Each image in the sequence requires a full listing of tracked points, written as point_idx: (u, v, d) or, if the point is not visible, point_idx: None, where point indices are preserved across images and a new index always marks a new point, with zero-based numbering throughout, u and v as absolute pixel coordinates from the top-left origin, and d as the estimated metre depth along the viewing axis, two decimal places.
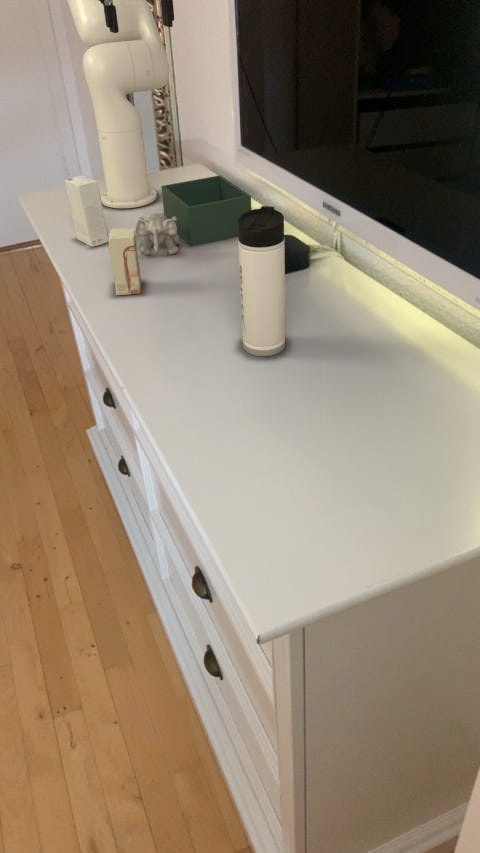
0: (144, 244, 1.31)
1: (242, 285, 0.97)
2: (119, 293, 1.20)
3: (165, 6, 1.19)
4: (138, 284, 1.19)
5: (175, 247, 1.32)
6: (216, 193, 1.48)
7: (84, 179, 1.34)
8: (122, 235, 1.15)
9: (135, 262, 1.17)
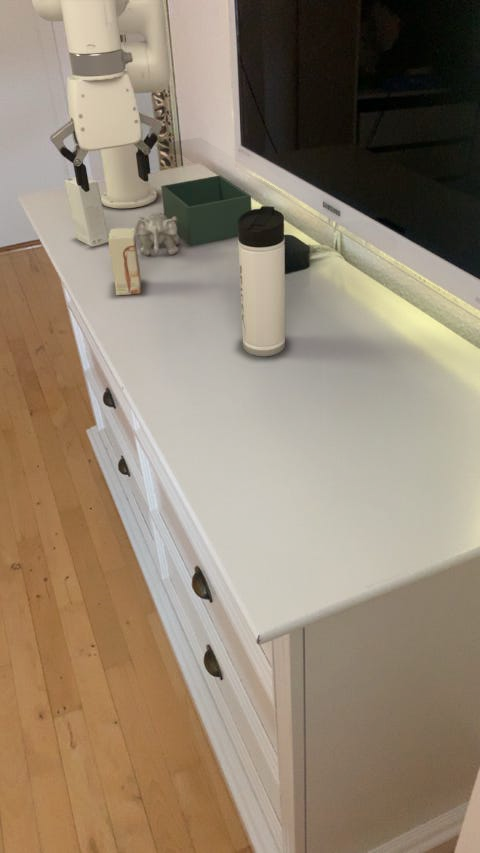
0: (144, 244, 1.31)
1: (242, 285, 0.97)
2: (119, 293, 1.20)
3: (140, 161, 1.10)
4: (138, 284, 1.19)
5: (175, 247, 1.32)
6: (216, 193, 1.48)
7: None
8: (122, 235, 1.15)
9: (135, 262, 1.17)
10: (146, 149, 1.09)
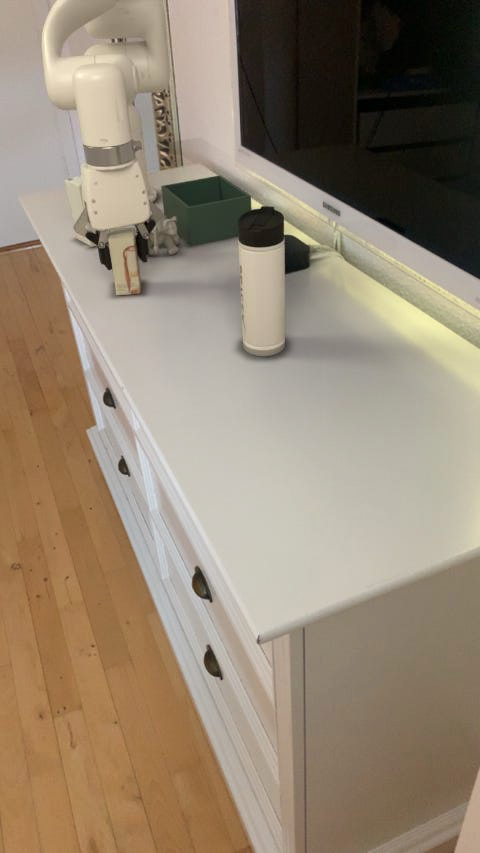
0: None
1: (242, 285, 0.97)
2: (119, 293, 1.20)
3: (139, 244, 1.18)
4: (138, 284, 1.19)
5: (175, 247, 1.32)
6: (216, 193, 1.48)
7: None
8: (121, 235, 1.15)
9: (135, 262, 1.17)
10: (145, 234, 1.17)
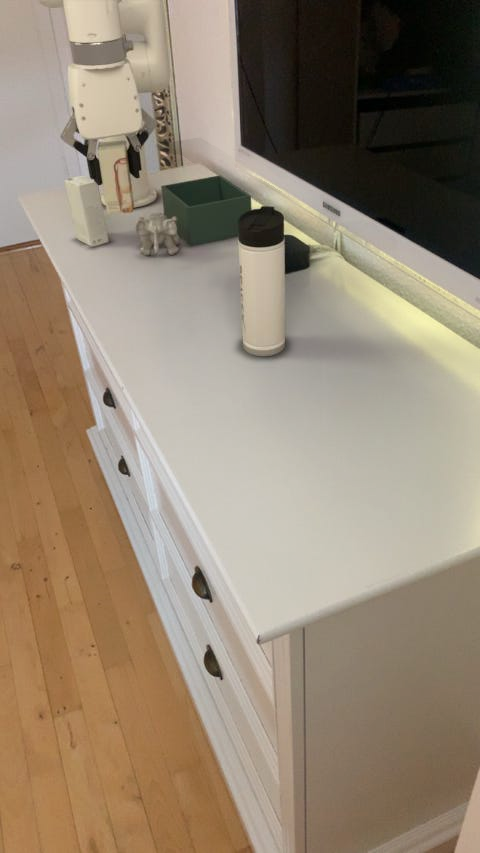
0: (144, 244, 1.31)
1: (242, 285, 0.97)
2: (110, 212, 1.13)
3: (131, 158, 1.11)
4: (130, 202, 1.12)
5: (175, 247, 1.32)
6: (216, 193, 1.48)
7: (84, 179, 1.34)
8: (112, 146, 1.08)
9: (127, 177, 1.10)
10: (137, 146, 1.09)
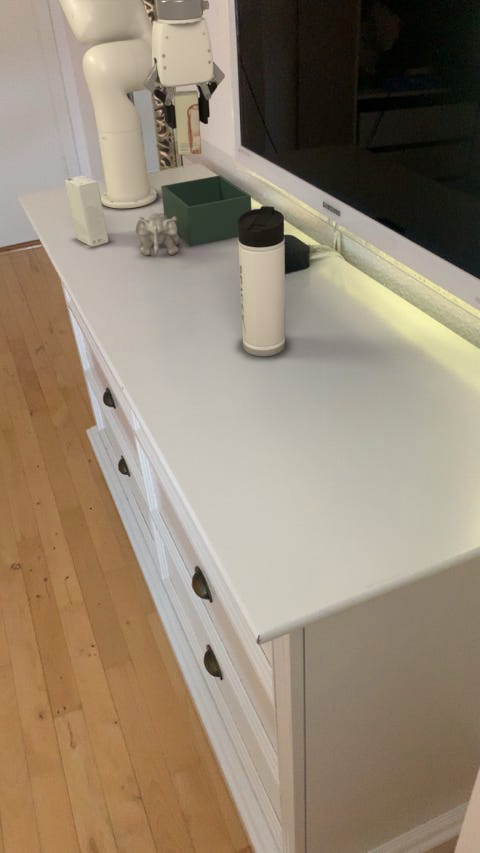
0: (144, 244, 1.31)
1: (242, 285, 0.97)
2: (181, 153, 1.29)
3: (201, 105, 1.27)
4: (199, 144, 1.28)
5: (175, 247, 1.32)
6: (216, 193, 1.48)
7: (84, 179, 1.34)
8: (186, 94, 1.25)
9: (198, 121, 1.26)
10: (207, 95, 1.26)
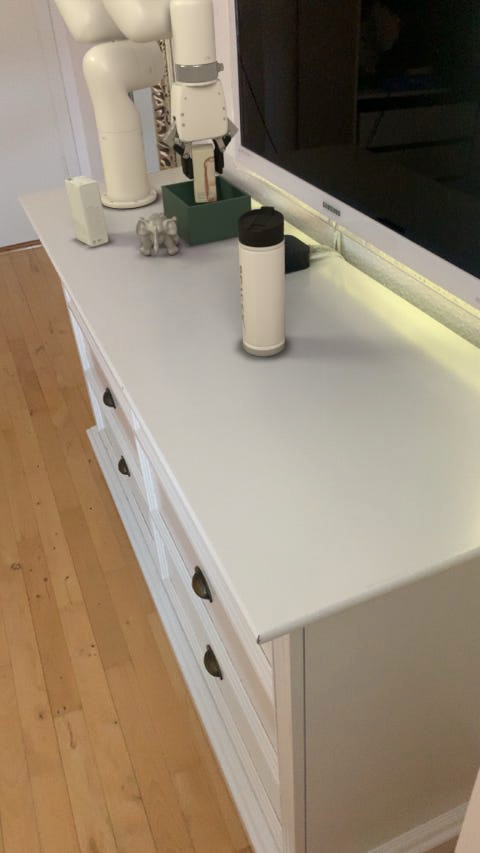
0: (144, 244, 1.31)
1: (242, 285, 0.97)
2: (198, 201, 1.38)
3: (217, 157, 1.36)
4: (215, 192, 1.37)
5: (175, 247, 1.32)
6: (216, 193, 1.48)
7: (84, 179, 1.34)
8: (203, 147, 1.34)
9: (214, 172, 1.35)
10: (222, 147, 1.35)
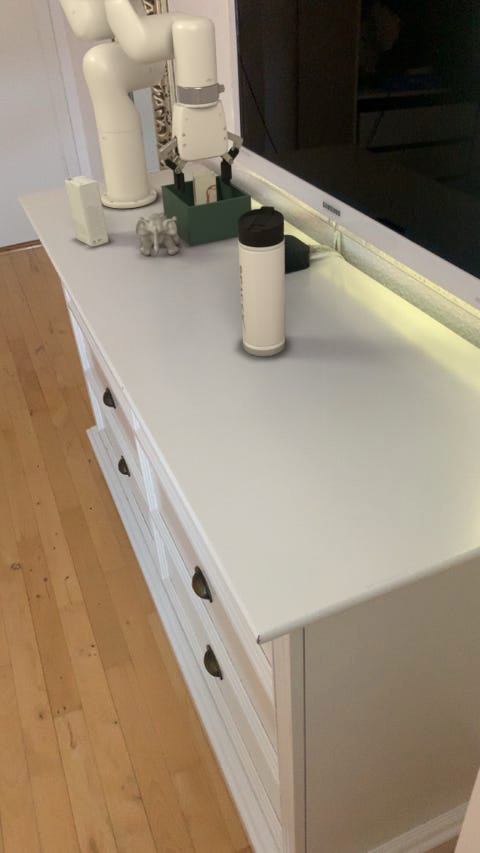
0: (144, 244, 1.31)
1: (242, 285, 0.97)
2: None
3: (225, 169, 1.38)
4: None
5: (175, 247, 1.32)
6: None
7: (84, 179, 1.34)
8: (205, 176, 1.37)
9: (216, 199, 1.39)
10: (230, 160, 1.37)
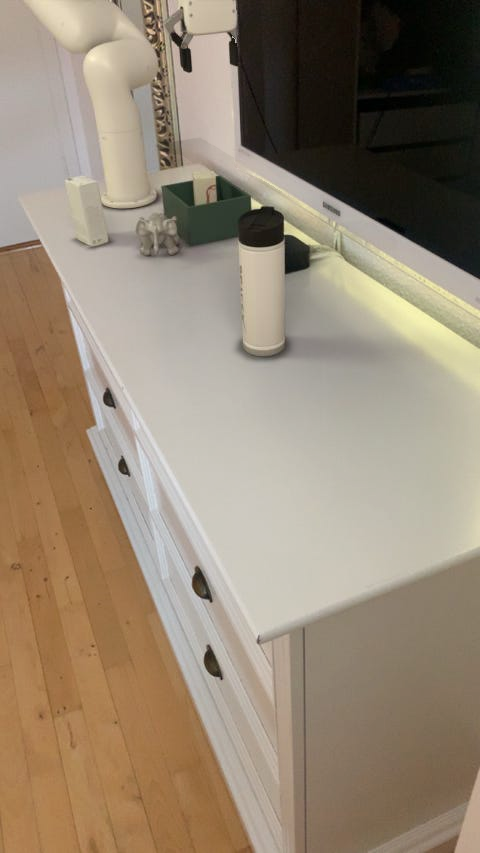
0: (144, 244, 1.31)
1: (242, 285, 0.97)
2: None
3: (233, 48, 1.31)
4: None
5: (175, 247, 1.32)
6: None
7: (84, 179, 1.34)
8: (205, 176, 1.37)
9: (216, 199, 1.39)
10: None
